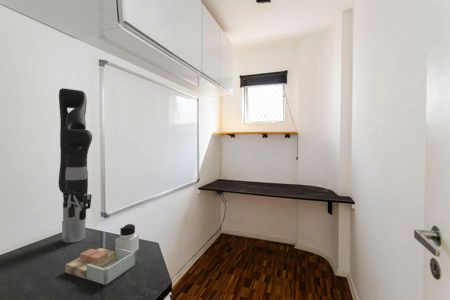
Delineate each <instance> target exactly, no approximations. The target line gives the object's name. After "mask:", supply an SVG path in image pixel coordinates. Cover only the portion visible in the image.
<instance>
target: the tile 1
mask: <svg viewBox="0 0 450 300" xmlns="http://www.w3.org/2000/svg"><path fill="white" fill-rule="evenodd" d="M98 251H99V250H96V249H94V248H90V249H87V250H85V251H82V252H81V253H80V254H79V257H80V259H83V260H87V261H89V256H91V255H93V254H94V253H96V252H98Z"/></svg>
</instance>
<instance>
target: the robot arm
mask: <svg viewBox="0 0 450 300" xmlns="http://www.w3.org/2000/svg"><path fill="white" fill-rule="evenodd" d="M87 100H88V99H87V94H86V93H85V91H83V90H80V89H73V88H72V89H71V88H63V87H62V88H60V89H59V91H58V104H59V105H58V106H59V116H60V117H59V118H60V120H59V121H60V123H59V124H60V128H59V130H60V131H59V135H60V136H59V146H60V147H59V148H60V149H59V150H60V162H59V163H60V165H59V173H58V189H59V191H60V192H61V193H62V197H63V199H62V221H61V237H62V238H61V240H62V239H63V240H62V242H63V243H64V242H65V244H73V243H77V242H81V241H83V240H84V239H85V238H86V219H87V210H88V209H91V206H92V205H91V204H92V194H91V193H90V194H88V191H89V190H88V189H89V188H88V187H89V170H88V153H89V149H90V146H91V143H92V140H93V134H92V132H91V131H90V130H88V129H86V127H87V125H86V124H87V123H86V113H87V102H88V101H87ZM68 109H72V110H70V111H69V110H68Z"/></svg>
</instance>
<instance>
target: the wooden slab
mask: <svg viewBox="0 0 450 300" xmlns="http://www.w3.org/2000/svg"><path fill="white" fill-rule="evenodd" d="M95 250H99V251H103V252H107V253H108V258H107V259H105V260H103V261H102V262H100V263H98V264H97V263H93V262H90V261H87V260H83V259H80V256H79V257H77V258H75V259H73V260H71V261H69V262H67V263H65V264H64V266H65V268H64V269H65V273H67V274H70V275H72V276H76V277H79V278H82V279H84V280H87V279H86V265H87V264H91V265H95V266H98V267H101V268H103V267H105V266H106V265H108V264H110V263H111V262H113V261H115V260H116V252H115V251H113V250H110V249H106V248H102V247H98V248H96V249H95Z"/></svg>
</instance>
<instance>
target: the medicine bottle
mask: <svg viewBox="0 0 450 300" xmlns="http://www.w3.org/2000/svg"><path fill="white" fill-rule="evenodd" d="M139 243H140V234H139V233H136V225H135V224H132V223H128V224H124V225H121V226H120V227H119V236H118V237H116V239H115V252H116V249H117V248H121V249H125V250H129V251H133V252H135V253H136V252H137V251H138V250H139V249H140V245H139Z"/></svg>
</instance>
